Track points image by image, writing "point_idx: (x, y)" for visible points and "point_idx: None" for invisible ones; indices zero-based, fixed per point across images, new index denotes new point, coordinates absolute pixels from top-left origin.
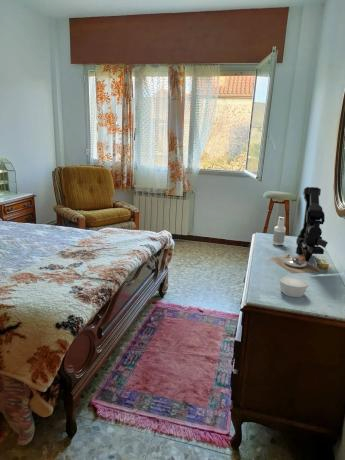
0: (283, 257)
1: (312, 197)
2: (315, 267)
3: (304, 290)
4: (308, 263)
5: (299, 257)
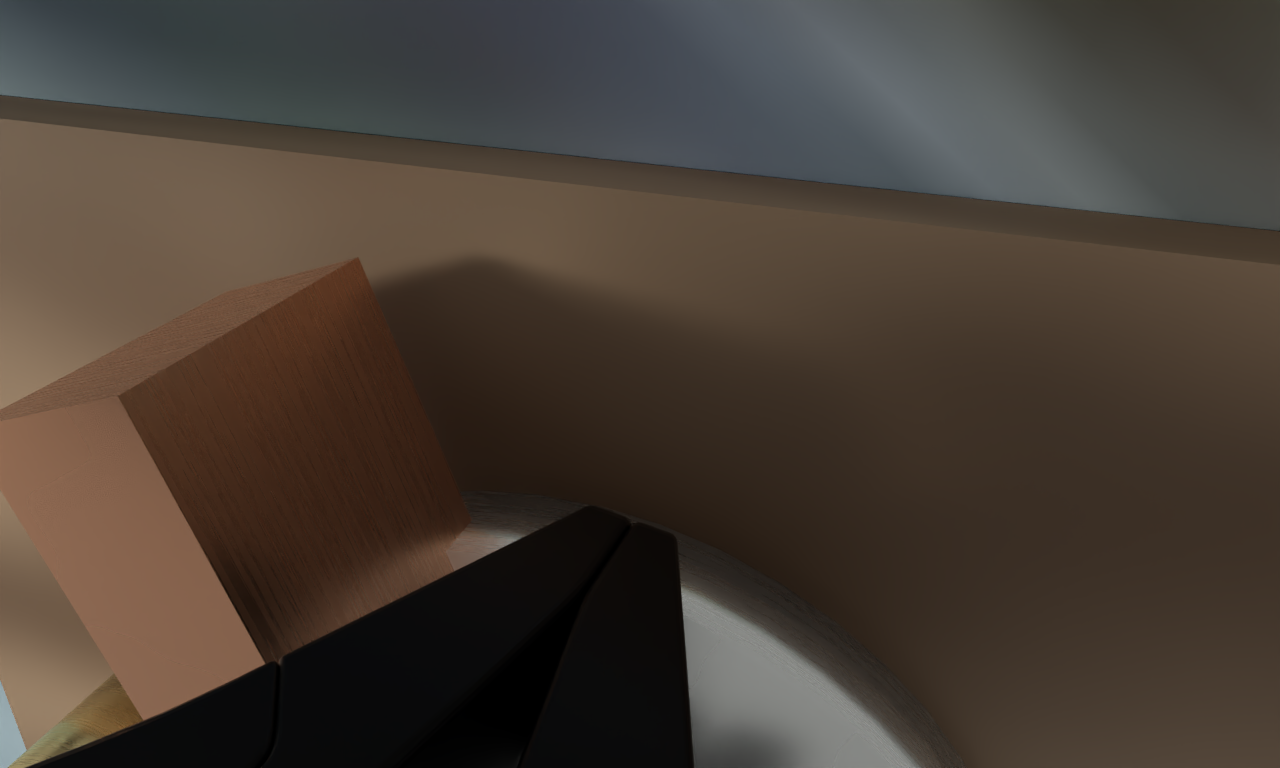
0: (13, 652)
1: None
2: (1182, 311)
3: None
4: (562, 235)
5: None
